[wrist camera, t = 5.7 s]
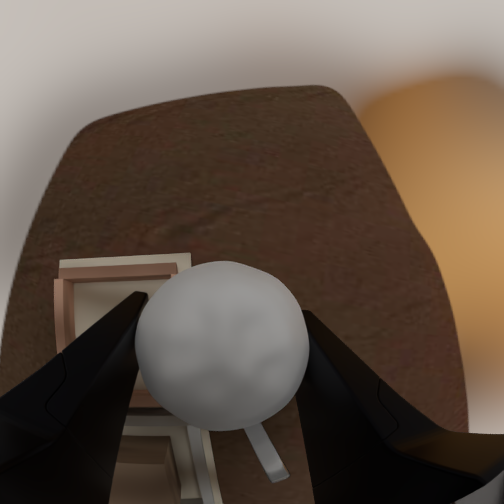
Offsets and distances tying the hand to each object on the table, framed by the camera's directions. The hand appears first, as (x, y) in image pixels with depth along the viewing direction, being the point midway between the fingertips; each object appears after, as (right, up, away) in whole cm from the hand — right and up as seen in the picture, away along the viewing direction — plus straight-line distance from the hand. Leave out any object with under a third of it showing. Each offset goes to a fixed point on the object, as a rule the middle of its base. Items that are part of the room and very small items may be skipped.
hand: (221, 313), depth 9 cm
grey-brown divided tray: (-8, -10, +10) cm, 16 cm away
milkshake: (-1, -3, +6) cm, 7 cm away
